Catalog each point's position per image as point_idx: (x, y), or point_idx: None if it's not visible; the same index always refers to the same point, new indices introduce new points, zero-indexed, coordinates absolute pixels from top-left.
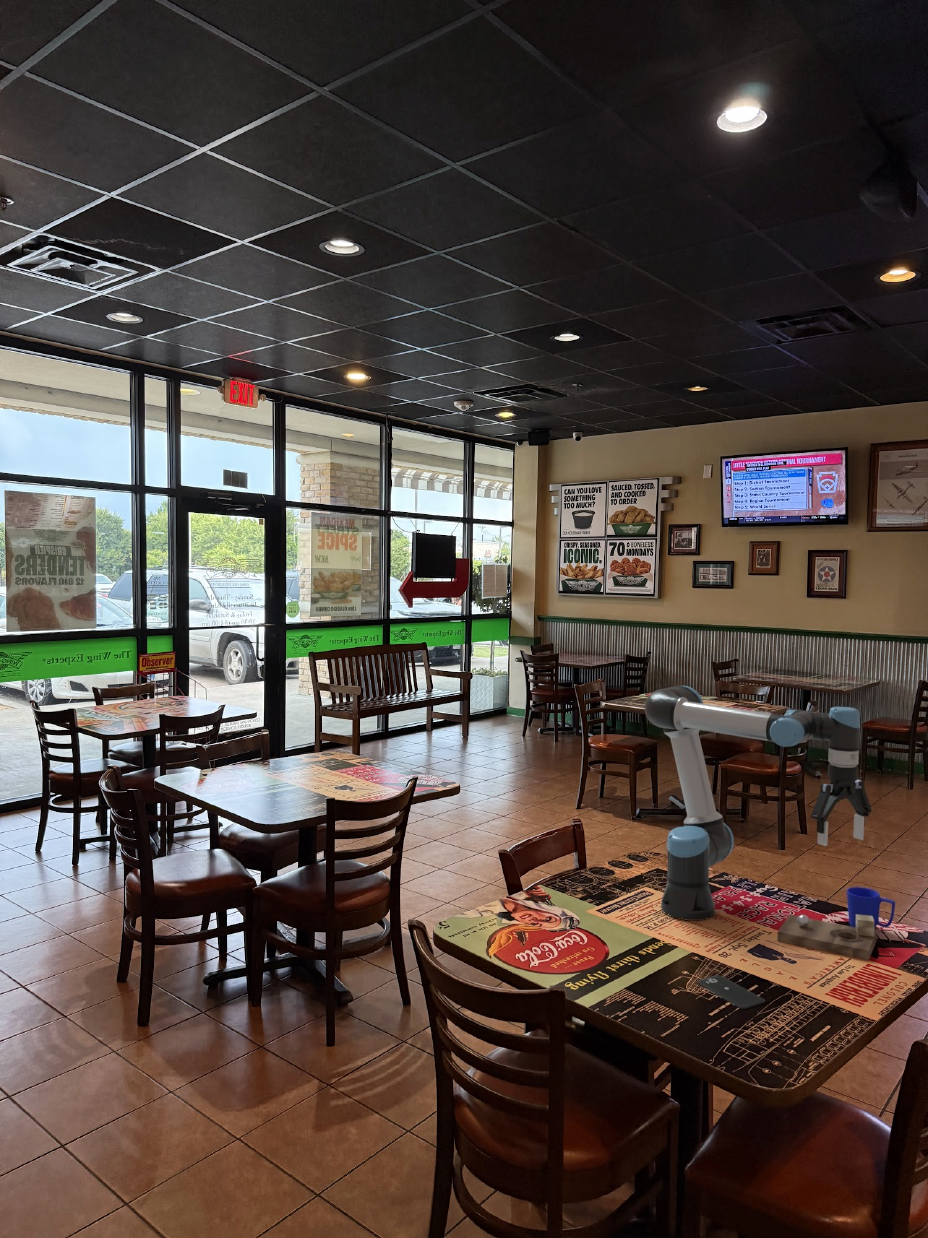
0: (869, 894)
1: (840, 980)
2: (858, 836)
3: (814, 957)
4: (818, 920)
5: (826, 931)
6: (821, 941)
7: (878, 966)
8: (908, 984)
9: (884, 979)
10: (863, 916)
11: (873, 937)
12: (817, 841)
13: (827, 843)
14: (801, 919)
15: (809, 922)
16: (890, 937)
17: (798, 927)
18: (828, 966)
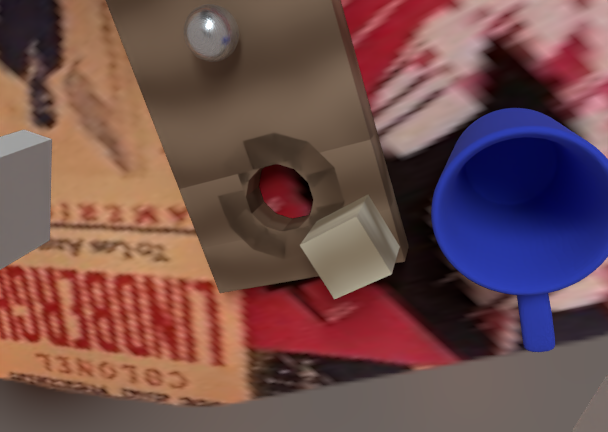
0: (597, 216)
1: (64, 264)
2: (601, 424)
3: (121, 151)
4: (339, 39)
5: (253, 124)
6: (165, 150)
7: (220, 309)
8: (183, 391)
9: (160, 342)
10: (355, 249)
11: None
12: (5, 135)
13: (30, 251)
14: (184, 38)
15: (219, 60)
16: None
17: None
18: (105, 208)
